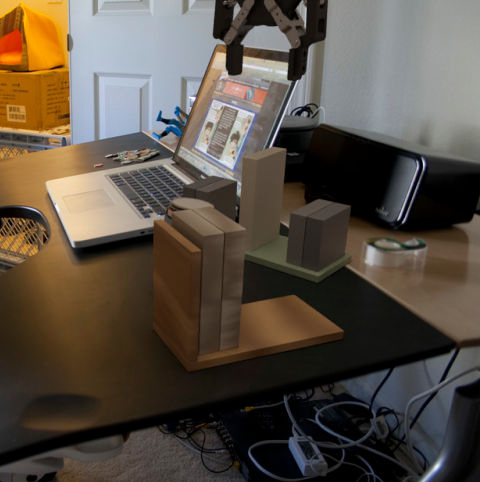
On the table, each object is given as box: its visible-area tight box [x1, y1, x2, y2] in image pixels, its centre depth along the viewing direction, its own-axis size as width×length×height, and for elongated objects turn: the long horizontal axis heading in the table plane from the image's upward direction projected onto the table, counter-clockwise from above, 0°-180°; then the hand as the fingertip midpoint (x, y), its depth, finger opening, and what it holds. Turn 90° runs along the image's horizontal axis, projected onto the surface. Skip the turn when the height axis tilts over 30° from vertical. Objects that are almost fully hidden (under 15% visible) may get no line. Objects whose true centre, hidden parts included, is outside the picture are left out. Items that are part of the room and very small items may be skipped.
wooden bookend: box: [152, 206, 345, 373], centre depth 67 cm, size 18×9×14 cm, turn 107°
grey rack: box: [182, 175, 353, 284], centre depth 89 cm, size 23×9×8 cm, turn 43°
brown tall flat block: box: [238, 146, 287, 252], centre depth 88 cm, size 2×7×13 cm, turn 133°
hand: (263, 77), depth 79 cm, fingers open, 8 cm apart
